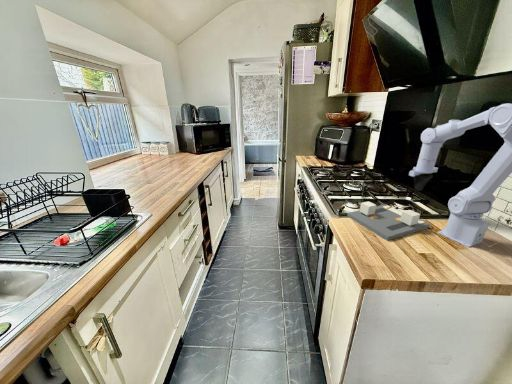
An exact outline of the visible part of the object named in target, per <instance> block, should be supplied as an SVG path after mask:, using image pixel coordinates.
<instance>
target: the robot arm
mask: <svg viewBox="0 0 512 384" xmlns="http://www.w3.org/2000/svg"><path fill="white" fill-rule="evenodd" d="M486 125H490V126H491V127H492V128H493V129H494V130H495V131H496V132H497V133H498V134H499V136H500V137H501V139H502V138H503V140H504V143H503V145H501V147H500V148H499V149H498V151H496V153H495V154H494V155H493V157H492V158H491V159H490V160H489V162H488V163H487V164H486V166H485V167H483V169H482V171H481V172H480V173H479V175H478V176H477V177H476V178H475V179H474V181H473V182H472V183H471V185H469V187H467V188H464V189H463V190H462V189H461V190H460V191H459V192H458V193H457V194H456V195H455V196H451V198H449V200H448V203H447V206H448V209H449V213H450V214H449V217H448V220H447V223H446V225H445V227H444V229H440V230H439V231H437V234H439V235H441V236H444V237H445V238H447V239H450V240H452V241H454V242H456V243H459V244H461V245H463V246H465V247H466V248H470V247H473V246H475V245H479V244H481V243H483V240H484V238H485V235H486V232H487V230H488V228H489V226H490V225H489V222H488V221H485V220H484V219H482V217H483V215H484V214H487V213H489V212H490V211H491V210H492V208H493V203H494V202H495V201H496V200H497V198H496V197H495V195H494V193H495V192H496V191H497V190H498V188H500V186H501V185H502V184H503V183H504V182H505V180H507V178H509V177H510V175H511V174H512V103H501V104H500V105H497V106H493V107H490V108H489V109H488V110H484V111H482V112H480V113H478V114H475V115H473V116H471V117H469V118H466V119H463V120H460V119H450V120H448V122H447V123H444V124H438V125H436V127H434V128H432V127H427V128H426V129H424V130H423V131H422V133H420V141H421V142H422V144H421V147H420V153H419V156H418V159H417V162H416V163H417V164H416V166H413V168H412V169H411V170H410V171H409V172H408V176H410V177H412V178H413V180H414V190H415V191H419V192H421V191H423V189H424V187H425V186H426V185H427V184H428V182H429V180H431V179H432V178H433V177H434V175H433V173H437V172H438V169H439V167H435V165H436V162H437V158H438V155H439V152H440V150H441V149H440V148H442V147H443V144H444V143H445V142H446V141H447V140H450V139H454V138H458V137H460V136H462V135H464V134H465V132H466V131H467V130H472V129H475V128H478V127H482V126H486Z"/></svg>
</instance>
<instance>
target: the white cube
mask: <svg viewBox="0 0 512 384" xmlns="http://www.w3.org/2000/svg"><path fill="white" fill-rule="evenodd" d="M420 216H421V213H419V212H416V211H414V210H411V209H408V210H402V215H401V219H400V221H401V222H403V223H405V224H407V225H410V226H411V225H414V224H417V223H418V220H419V219H420Z"/></svg>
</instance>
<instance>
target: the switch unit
mask: <svg viewBox="0 0 512 384" xmlns="http://www.w3.org/2000/svg"><path fill="white" fill-rule="evenodd" d="M402 212H403V210H400V209H397V208H395V207H393V206H390V205H388V204H380V205H376V210H375V214H372V215H368V216H367V215H365V214H363V213H362V212H360V209H359V210H356V211H350V212H347V214H346V216H347V217H348V218H350V219H351V220H353V221H354V222H355V223H357V224H360V225H361V226H362V227H364V228H366V229H367V230H369V231H371V232H372V233H374V234H376V235H377V236H379V237H380V238H382V239H384V240H385V241H390V240H393V239H397V238H399V237H402V236H406V235H410V234H412V233H416V232H418V231H422V230H425V229H428V228H430V225H431V224H430V223H429V222H426V221H425V220H422V219H420V218H419V220H418V223H417V224H414V225H411V226H410V225H407V224H405V223H403V222H401V221H400V219H401V215H402Z"/></svg>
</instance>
